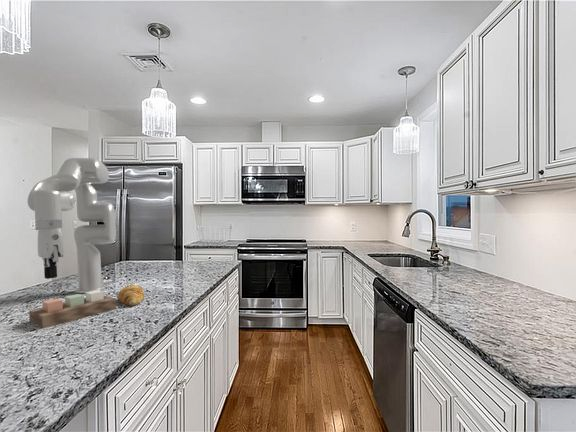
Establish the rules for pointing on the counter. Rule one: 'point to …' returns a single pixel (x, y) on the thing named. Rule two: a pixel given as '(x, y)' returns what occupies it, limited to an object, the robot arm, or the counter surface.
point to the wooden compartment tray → (71, 312)
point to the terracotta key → (52, 305)
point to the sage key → (74, 300)
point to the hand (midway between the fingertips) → (50, 277)
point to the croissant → (131, 295)
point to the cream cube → (94, 296)
